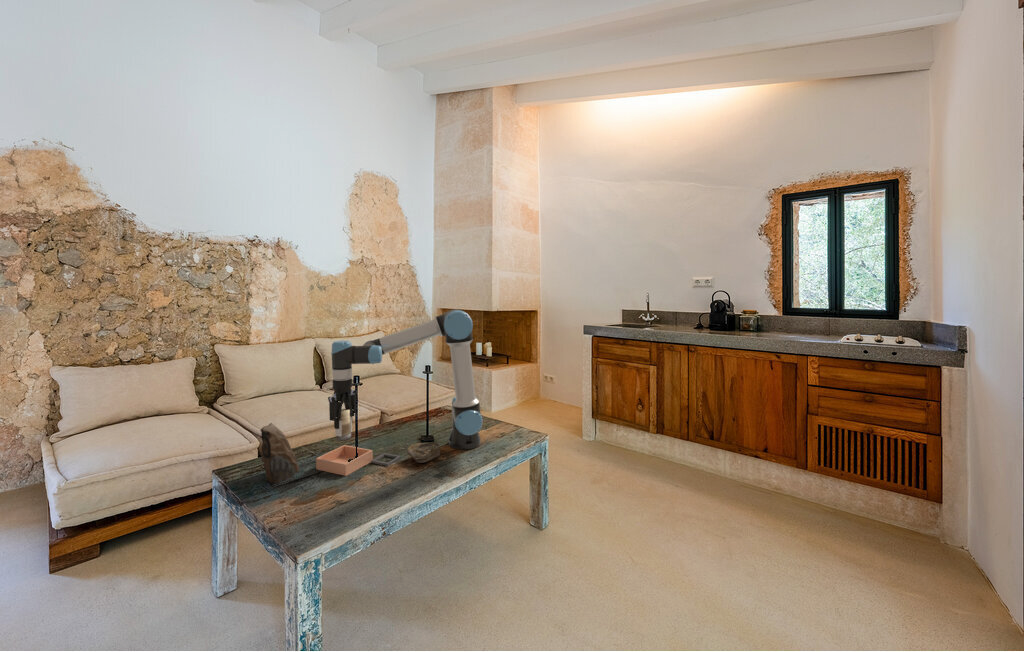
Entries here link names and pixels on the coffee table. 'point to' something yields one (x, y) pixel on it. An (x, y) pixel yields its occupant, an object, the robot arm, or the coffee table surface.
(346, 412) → the beige rounded cylinder
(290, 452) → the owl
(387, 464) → the gray square frame
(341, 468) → the tray
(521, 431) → the coffee table surface
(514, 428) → the coffee table surface
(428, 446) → the stone
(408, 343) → the robot arm
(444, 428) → the coffee table surface
